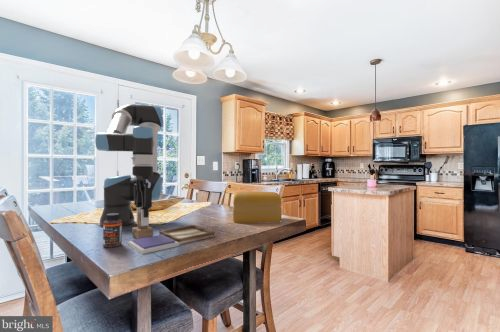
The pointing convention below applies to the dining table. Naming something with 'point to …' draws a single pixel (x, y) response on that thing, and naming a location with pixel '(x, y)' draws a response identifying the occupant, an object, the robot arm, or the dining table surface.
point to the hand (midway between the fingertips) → (142, 224)
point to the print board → (187, 234)
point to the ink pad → (152, 243)
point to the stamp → (141, 229)
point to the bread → (257, 207)
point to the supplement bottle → (112, 231)
